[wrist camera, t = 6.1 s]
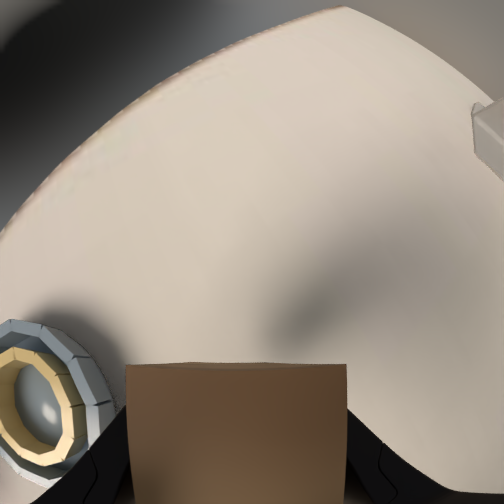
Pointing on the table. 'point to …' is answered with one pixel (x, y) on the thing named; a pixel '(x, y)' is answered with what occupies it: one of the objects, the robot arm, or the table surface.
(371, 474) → the robot arm
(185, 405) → the brown wooden block
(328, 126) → the table surface
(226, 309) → the table surface
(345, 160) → the table surface
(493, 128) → the tablet stand
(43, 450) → the grey round dish
